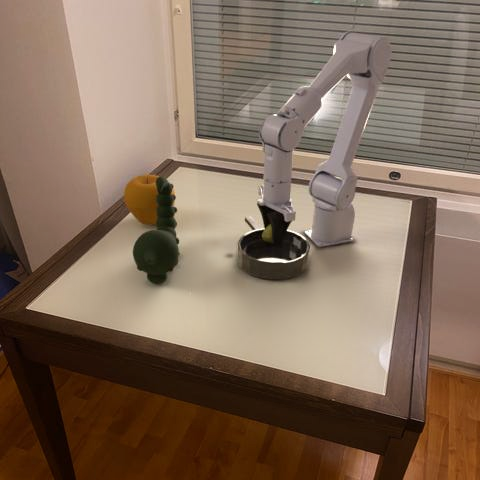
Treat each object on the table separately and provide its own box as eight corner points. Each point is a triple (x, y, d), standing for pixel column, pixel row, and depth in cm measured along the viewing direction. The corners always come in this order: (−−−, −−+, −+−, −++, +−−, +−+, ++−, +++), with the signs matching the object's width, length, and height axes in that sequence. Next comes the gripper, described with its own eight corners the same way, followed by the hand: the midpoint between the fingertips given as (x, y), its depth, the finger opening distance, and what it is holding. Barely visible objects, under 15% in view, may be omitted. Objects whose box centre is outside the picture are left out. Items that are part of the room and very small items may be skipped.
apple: (133, 235, 123) (128, 192, 116) (121, 214, 133) (115, 172, 126) (183, 226, 128) (180, 183, 121) (168, 206, 137) (165, 165, 130)
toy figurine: (150, 246, 122) (129, 297, 101) (143, 169, 112) (117, 207, 91) (189, 247, 122) (175, 298, 101) (185, 170, 112) (169, 208, 91)
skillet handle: (251, 219, 124) (251, 216, 123) (263, 233, 118) (264, 230, 117) (244, 220, 123) (244, 217, 123) (256, 235, 117) (257, 231, 117)
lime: (259, 245, 110) (260, 224, 107) (267, 235, 114) (267, 215, 111) (279, 249, 109) (280, 228, 106) (285, 239, 112) (287, 219, 109)
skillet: (289, 240, 122) (290, 223, 120) (320, 273, 111) (322, 255, 108) (227, 251, 118) (227, 234, 115) (253, 287, 106) (254, 269, 103)
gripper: (246, 168, 106) (245, 225, 114) (274, 194, 95) (270, 256, 104) (276, 164, 108) (273, 221, 116) (307, 189, 98) (301, 250, 106)
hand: (274, 237), depth 110 cm, fingers closed on lime, 3 cm apart
